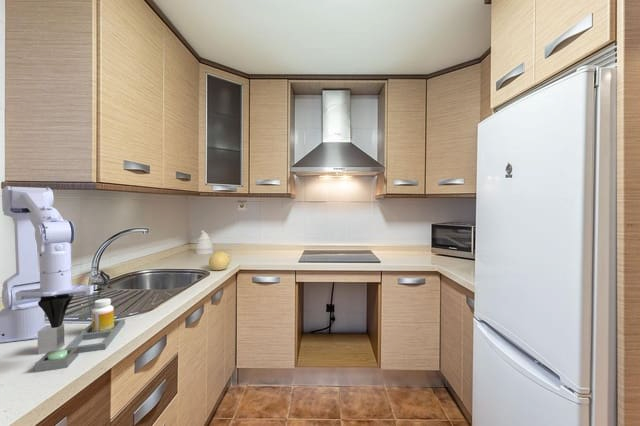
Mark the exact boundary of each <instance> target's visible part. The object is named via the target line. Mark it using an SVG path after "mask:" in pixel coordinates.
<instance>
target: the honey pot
mask: <svg viewBox="0 0 640 426" xmlns="http://www.w3.org/2000/svg"><path fill="white" fill-rule="evenodd" d="M200 232H201V235H200V236H199V238H197V240H198V241H197V244H196V246H195V254H196V255H209V254H214V246H213V243H212V240H211V239H212V238H211V237H210V236H209V234H208V233H207V232H205V230H200Z"/></svg>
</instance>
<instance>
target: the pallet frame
mask: <svg viewBox="0 0 640 426" xmlns="http://www.w3.org/2000/svg"><path fill="white" fill-rule="evenodd" d="M125 325H126V319H123V318H122V319H114V329H113V330H109V331H101V332H93V333H92V322H91V323H90V324H89V325H88V326H86V328H85V329H84V330H83V331H82V332H80V333H79V335H78V336H76V337H75V338H74V339H73V340H72V341H71V342H70V343H69V344H68V345H67V346H66V347H65V348H64V349H72V348H78V354H81V353H87V352H88V353H89V352H97V351H103V350H104V351H105V350H106V349H107V348H108V347H109V345H110V344H111V343H112V342H113V340H114V339H115V338H116V336H117V335H118V334H119V332H120V331H121V330H122V328H124V326H125ZM102 338H105V339H104V340H103V341H102V342H99V343H98V342H96V343H90V344H83V345H82V344H81V343H82V342H83V341H86V340H94V339H95V340H96V339H102ZM80 344H81V345H80Z"/></svg>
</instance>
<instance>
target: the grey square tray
mask: <svg viewBox="0 0 640 426" xmlns="http://www.w3.org/2000/svg"><path fill="white" fill-rule="evenodd" d="M64 349H65V348H64ZM65 350H67V356H66V357H65V358H61V359H54V360H48V354H50V353H51V352H54V351H49V352H48V353H47V354H43V356H42V357H41V358H40V359H38V361H36V362H35V363H34V372H35V373H38V372H39V373H40V372H46V371H52V370H53V371H54V370H59V369H66V368H68V367H69V366H70V365H71V364H72V363H73V362H74V360H76V359H77V358H78V356H79V353H78V348H72V349H65Z"/></svg>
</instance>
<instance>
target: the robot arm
mask: <svg viewBox="0 0 640 426" xmlns="http://www.w3.org/2000/svg"><path fill="white" fill-rule="evenodd" d="M1 201H2V202H1V203H2V205H1V206H2V212H3V215H4V216H7V217H11V218H12V221H13V224H14V250H15V273H14V274H13V275H11V276H9V277H8V278H6V279H5V280H4V281H3V283H2V291H1V301H2V302H1V303H2V305H3V307H4V308H2V309H1V310H0V344H1V343H2V344H3V343H9V342H17V341H19V342H20V341H27V340H36V339H38V331H39V330H41V329H42V328H44V327H45V326H46V319H45V317H47V319H48V321H49V324H50V325H51V328H57V327H60V326H61V325H62V324H64V317H65V314H66V312H67V310H68V307H69V305H70V303H71V301H72V300H73V298H74V296H83V295H84V296H85V295H86V296H91V295H93V293H94V292H95V291H94V287H95V286H94V285H93V284H92V285H91V284H90V285H72V244H73V243H74V242H75V237H76V230H75V229H76V228H75V225H74V223H73V221H72V220H69V219H64V217H62V215H61V214H60V211H59V210H58V209H56V208H55V207H53V205H54V192H53V190H52V188H50V187H34V186H33V187H28V186H27V187H26V186H10V185H5V186H4V187H3V188H2V192H1ZM38 254H39V255H38ZM38 256H39V258H38ZM38 259H39V261H38ZM38 262H39V263H38ZM45 315H46V316H45Z"/></svg>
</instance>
